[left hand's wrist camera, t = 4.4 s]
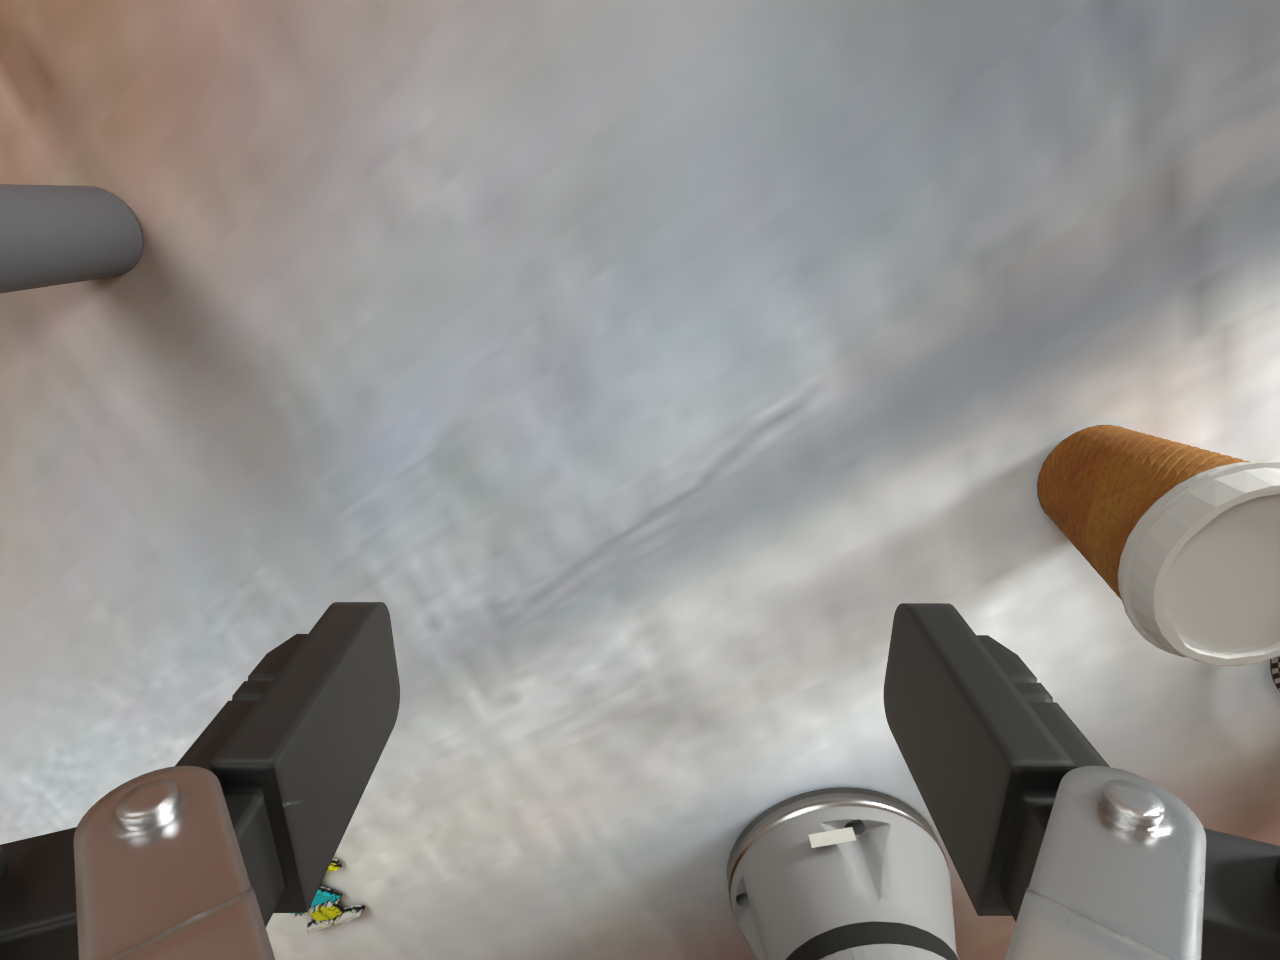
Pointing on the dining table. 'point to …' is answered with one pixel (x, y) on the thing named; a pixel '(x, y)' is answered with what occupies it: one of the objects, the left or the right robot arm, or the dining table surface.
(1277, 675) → the musical instrument
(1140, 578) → the disposable coffee cup
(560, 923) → the dining table surface
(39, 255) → the jar
